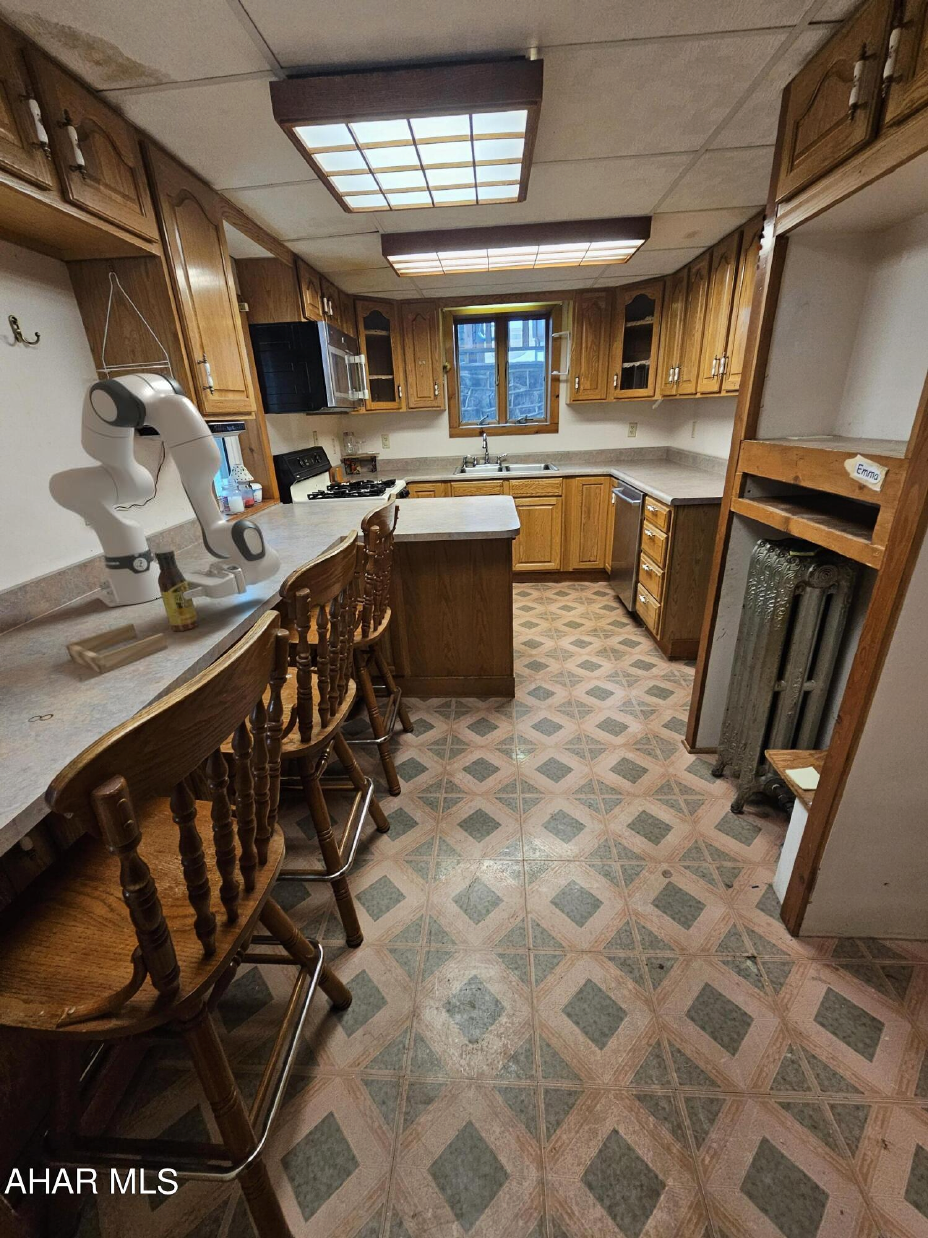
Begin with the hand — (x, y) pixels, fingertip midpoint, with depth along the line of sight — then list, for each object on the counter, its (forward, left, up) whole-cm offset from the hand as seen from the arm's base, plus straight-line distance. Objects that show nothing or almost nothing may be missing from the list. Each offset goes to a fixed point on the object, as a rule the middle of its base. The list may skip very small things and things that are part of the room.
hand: (173, 593), depth 119 cm
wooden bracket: (0, -15, -10) cm, 18 cm away
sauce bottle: (-1, +1, -10) cm, 10 cm away
